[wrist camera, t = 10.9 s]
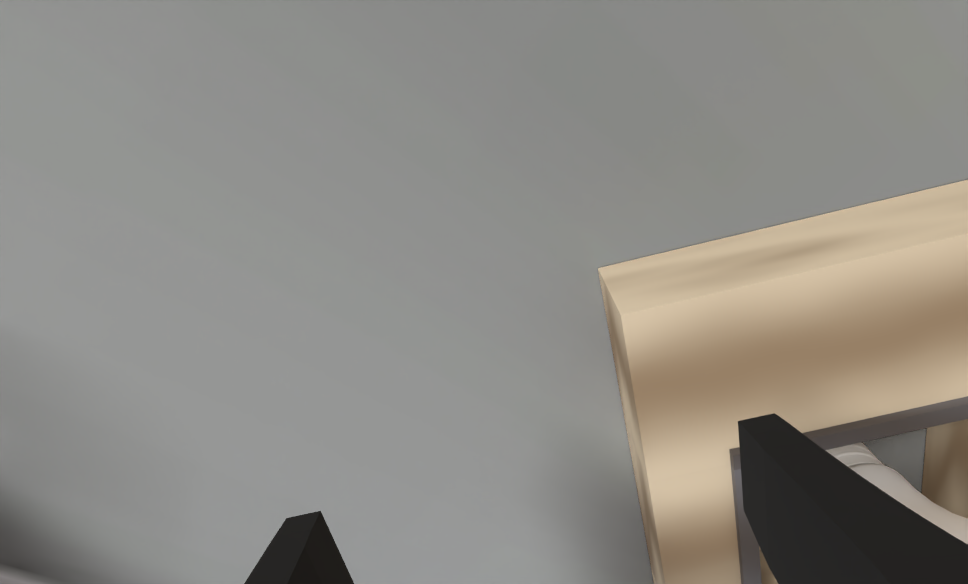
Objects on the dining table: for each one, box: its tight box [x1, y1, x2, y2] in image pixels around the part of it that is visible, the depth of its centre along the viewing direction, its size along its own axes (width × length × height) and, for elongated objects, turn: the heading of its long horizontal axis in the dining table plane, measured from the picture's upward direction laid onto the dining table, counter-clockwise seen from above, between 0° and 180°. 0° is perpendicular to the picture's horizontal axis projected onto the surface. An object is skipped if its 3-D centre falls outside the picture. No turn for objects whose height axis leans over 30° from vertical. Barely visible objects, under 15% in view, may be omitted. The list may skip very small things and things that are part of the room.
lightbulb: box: [825, 442, 968, 544], centre depth 20 cm, size 6×6×11 cm
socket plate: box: [598, 180, 968, 584], centre depth 24 cm, size 20×14×3 cm
